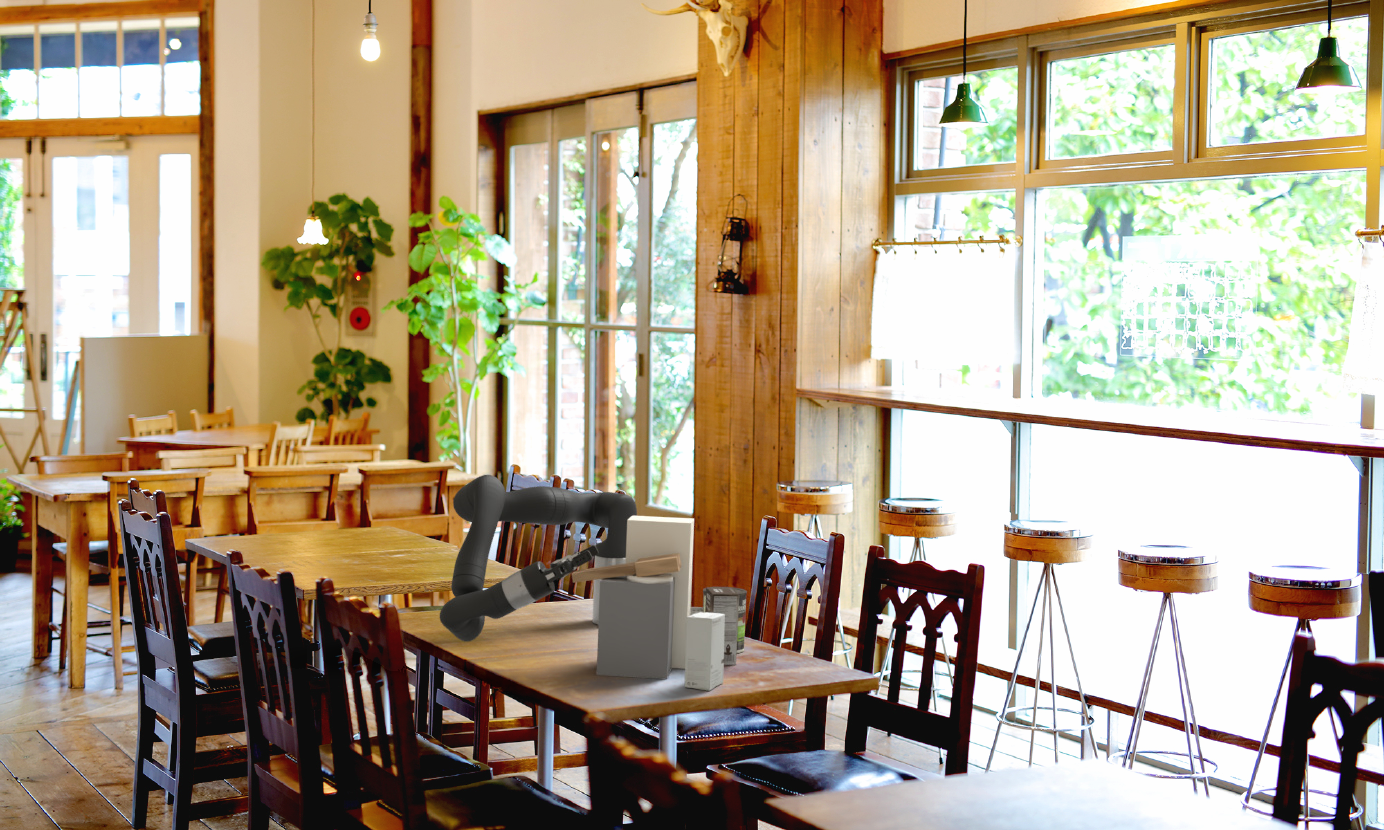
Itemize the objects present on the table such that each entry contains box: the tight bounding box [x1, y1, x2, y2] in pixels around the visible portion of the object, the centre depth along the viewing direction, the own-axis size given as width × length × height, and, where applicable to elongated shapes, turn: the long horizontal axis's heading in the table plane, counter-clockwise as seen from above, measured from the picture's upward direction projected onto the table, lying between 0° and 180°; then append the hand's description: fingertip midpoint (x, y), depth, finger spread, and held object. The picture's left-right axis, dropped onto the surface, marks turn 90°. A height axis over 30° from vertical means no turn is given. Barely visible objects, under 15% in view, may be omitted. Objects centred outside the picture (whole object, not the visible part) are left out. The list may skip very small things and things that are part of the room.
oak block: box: [571, 553, 681, 583], centre depth 280 cm, size 7×23×3 cm, turn 86°
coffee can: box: [702, 587, 748, 654], centre depth 307 cm, size 10×10×14 cm
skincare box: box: [684, 612, 725, 692], centre depth 271 cm, size 8×6×15 cm
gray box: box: [596, 573, 675, 680], centre depth 281 cm, size 10×15×21 cm, turn 86°
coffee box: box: [705, 586, 739, 666], centre depth 295 cm, size 9×6×16 cm
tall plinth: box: [626, 515, 695, 670], centre depth 290 cm, size 9×14×32 cm, turn 86°
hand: (593, 551), depth 281 cm, fingers open, 8 cm apart
